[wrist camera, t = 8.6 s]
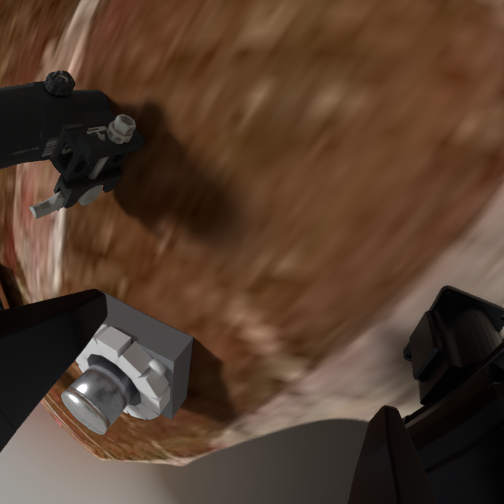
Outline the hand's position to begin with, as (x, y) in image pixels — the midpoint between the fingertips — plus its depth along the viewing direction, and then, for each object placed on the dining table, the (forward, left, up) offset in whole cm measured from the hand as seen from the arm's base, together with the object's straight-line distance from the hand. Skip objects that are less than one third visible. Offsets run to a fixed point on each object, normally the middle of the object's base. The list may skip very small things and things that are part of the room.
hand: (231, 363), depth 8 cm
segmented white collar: (+12, +18, -12) cm, 25 cm away
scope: (+18, -3, -13) cm, 22 cm away
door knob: (+12, +18, -9) cm, 24 cm away
